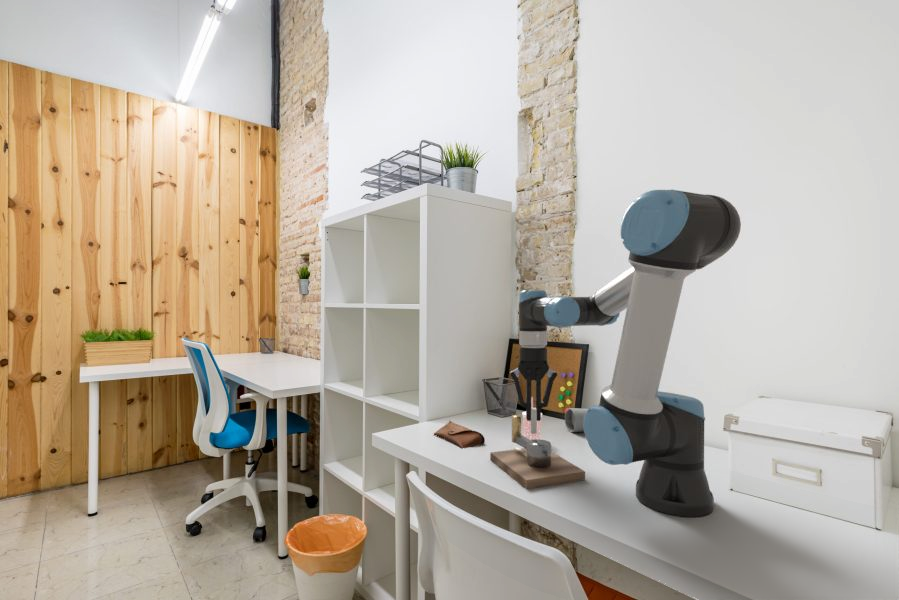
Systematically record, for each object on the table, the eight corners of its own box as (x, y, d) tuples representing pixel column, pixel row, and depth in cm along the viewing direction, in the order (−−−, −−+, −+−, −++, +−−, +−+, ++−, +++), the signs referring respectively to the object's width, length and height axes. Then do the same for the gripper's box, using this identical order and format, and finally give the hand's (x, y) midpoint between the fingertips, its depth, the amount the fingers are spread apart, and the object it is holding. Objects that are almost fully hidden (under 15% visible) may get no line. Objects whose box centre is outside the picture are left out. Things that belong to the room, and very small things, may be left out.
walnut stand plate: (585, 479, 109) (585, 470, 109) (526, 488, 104) (526, 478, 104) (540, 452, 129) (540, 444, 129) (489, 459, 123) (489, 450, 123)
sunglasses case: (429, 433, 146) (438, 414, 148) (444, 441, 150) (453, 422, 152) (463, 449, 132) (472, 427, 133) (479, 457, 135) (488, 436, 137)
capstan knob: (556, 465, 113) (556, 428, 112) (535, 468, 110) (535, 431, 110) (523, 446, 127) (523, 413, 127) (504, 449, 124) (504, 416, 124)
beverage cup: (535, 438, 141) (535, 394, 141) (546, 444, 136) (546, 398, 136) (518, 441, 139) (518, 395, 139) (528, 447, 133) (528, 399, 133)
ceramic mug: (598, 433, 147) (597, 409, 147) (575, 435, 145) (575, 411, 145) (581, 425, 157) (581, 402, 157) (559, 426, 155) (559, 404, 156)
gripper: (555, 345, 127) (555, 429, 127) (508, 344, 128) (509, 428, 128) (559, 347, 120) (559, 436, 120) (509, 347, 121) (510, 435, 121)
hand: (533, 432), depth 124 cm, fingers closed
